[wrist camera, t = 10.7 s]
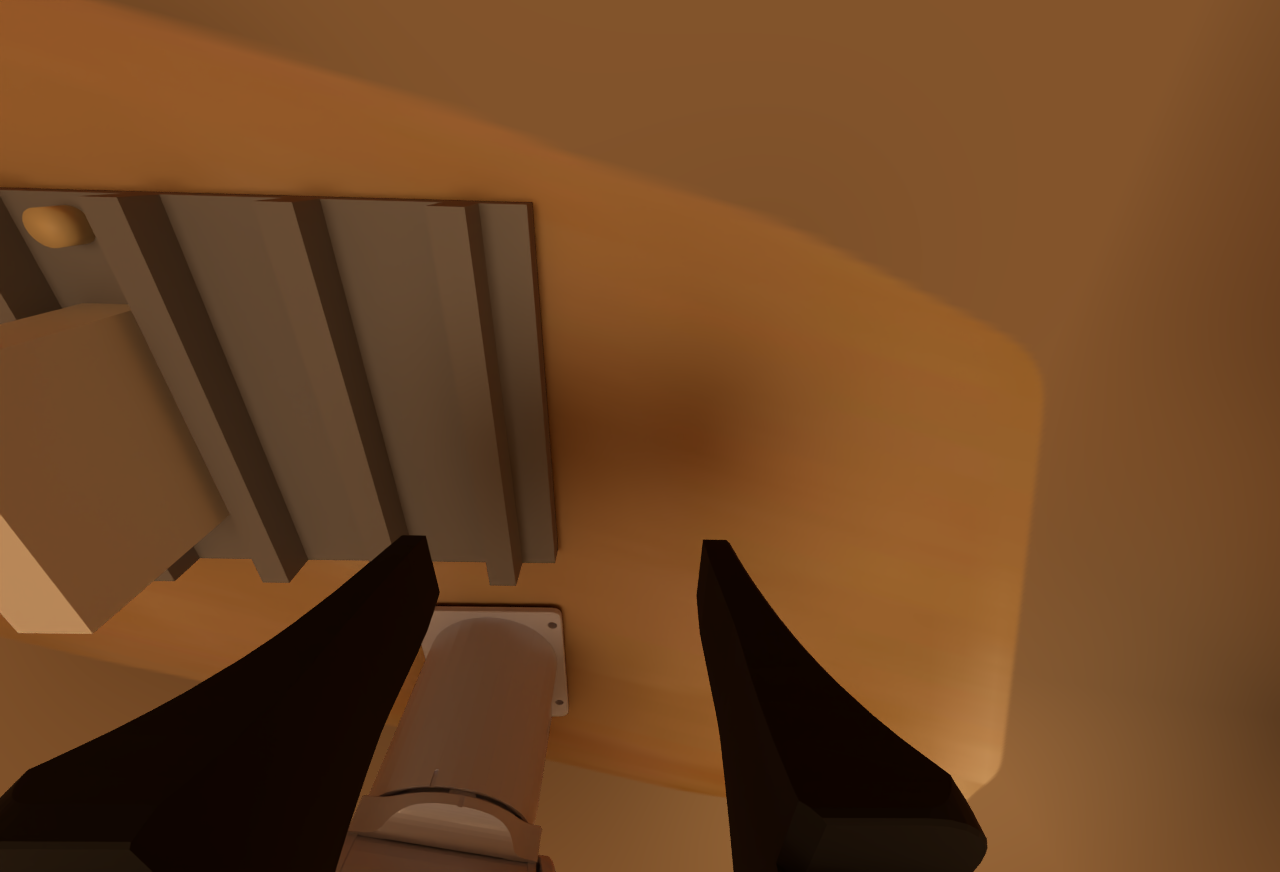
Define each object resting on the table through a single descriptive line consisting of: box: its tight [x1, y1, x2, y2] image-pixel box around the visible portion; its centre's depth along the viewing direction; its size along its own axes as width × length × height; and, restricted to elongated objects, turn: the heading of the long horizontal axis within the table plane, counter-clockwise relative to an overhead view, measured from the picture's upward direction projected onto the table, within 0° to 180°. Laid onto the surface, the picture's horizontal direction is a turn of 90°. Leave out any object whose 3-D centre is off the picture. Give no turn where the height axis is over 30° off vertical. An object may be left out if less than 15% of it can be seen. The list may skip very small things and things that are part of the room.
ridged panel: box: [0, 188, 558, 586], centre depth 20 cm, size 16×20×2 cm
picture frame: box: [0, 303, 230, 634], centre depth 17 cm, size 9×2×7 cm, turn 179°
